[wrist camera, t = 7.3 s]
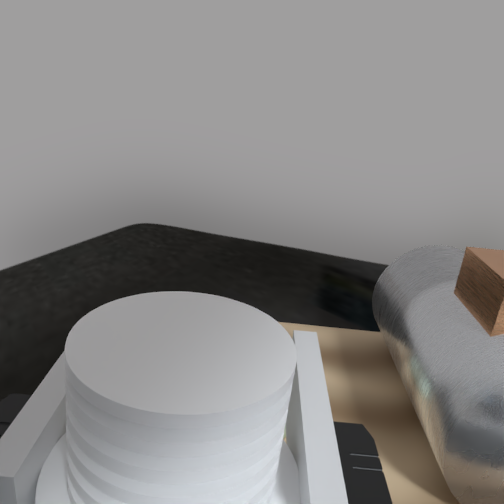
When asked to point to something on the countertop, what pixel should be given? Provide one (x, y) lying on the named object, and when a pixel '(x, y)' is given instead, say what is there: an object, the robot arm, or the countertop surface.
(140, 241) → the countertop surface
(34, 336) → the countertop surface
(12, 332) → the countertop surface
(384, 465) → the mounting board
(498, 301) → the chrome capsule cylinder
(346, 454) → the robot arm
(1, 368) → the countertop surface
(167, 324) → the downlight
